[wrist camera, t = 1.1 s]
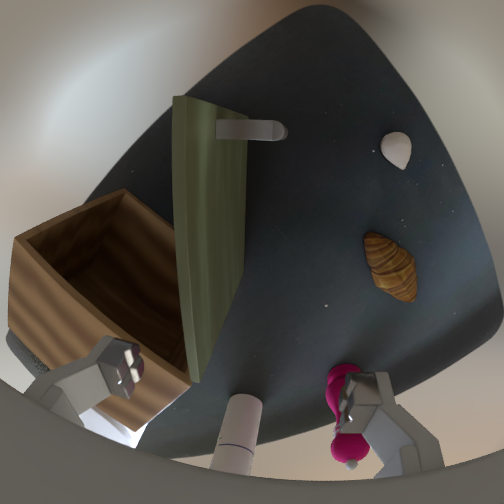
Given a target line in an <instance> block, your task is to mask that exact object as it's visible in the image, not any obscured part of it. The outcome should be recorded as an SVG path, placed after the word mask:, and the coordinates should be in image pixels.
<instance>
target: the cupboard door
mask: <svg viewBox="0 0 504 504" xmlns="http://www.w3.org/2000/svg"><path fill="white" fill-rule="evenodd" d="M287 135H288V130H287V128H286V127H285V126H284V125H282V124H281V123H280V122H278V121H275V120H248V116H245V115H242V114H240V113H237V112H234V111H232V110H229V109H226V108H223V107H220V106H217V105H215V104H212V103H209V102H206V101H203V100H199V99H196V98H193V97H190V96H187V95H183V96H174V97H173V105H172V188H173V215H174V234H175V249H176V263H177V275H178V286H179V296H180V306H181V315H182V324H183V332H184V340H185V347H186V355H187V362H188V368H189V375H190V381H192V382H197V383H200V381H201V379H202V376H203V374H204V371H205V369H206V366H207V364H208V361H209V359H210V356H211V354H212V351H213V349H214V346H215V344H216V341H217V339H218V336H219V334H220V331H221V329H222V326H223V323H224V321H225V318H226V316H227V313H228V311H229V308H230V306H231V303H232V301H233V298H234V296H235V293H236V291H237V288H238V286H239V283H240V281H241V278H242V276H243V273H244V241H245V206H246V173H247V143H248V140H268V141H277V140H282V139H285V138H286V137H287Z"/></svg>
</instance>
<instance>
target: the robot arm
mask: <svg viewBox="0 0 504 504" xmlns="http://www.w3.org/2000/svg"><path fill="white" fill-rule="evenodd" d="M140 351H141V350H140V346H139V344H137V343H134V342H130V341H127V340H123V339H120V338H115V337H112V336H109V335H105V336H103V337H102V338H101V339H100V341H99V342H98V343H97V344H96V345H95V347H94V348H93V349H92V350H91V351H90V353H89V354H88V355H87V356H86V358H85V359H84V358H80V359H78V360H75V361H73V362H71V363H68V364H66V365H63V366H61V367H58V368H56V369H54V370H51V371H49V372H46V373H44V374H41V375H39V376H38V377H37V378H36V379H35V380H34V382H33V383H32V384H31V385H30V386H29V388H28V389H27V390H26V391H25V392H24V394H22V393H20V392H19V391H17V390H16V389H14V388H13V387H11V386H10V385H8V384H7V383H6V382H4V381H3V380H1V379H0V504H504V449H502V450H499V451H496V452H494V453H491V454H488V455H485V456H482V457H479V458H476V459H473V460H469V461H466V462H462V463H459V464H455V465H451V466H447V467H445V465H444V461H443V457H442V453H441V449H440V445H439V441H438V439H437V438H436V437H434V436H433V435H432V434H431V433H430V432H429V431H428V430H427V429H426V428H425V427H423V426H422V425H421V424H420V423H419V422H418V421H417V420H416V419H415V418H414V417H413V416H411V414H409V413H408V412H407V411H406V410H405V409H404V408H403V407H402V406H401V405H399V404H398V405H396V403H395V398H394V394H393V390H392V386H391V383H390V379H389V375H388V373H387V372H348V373H347V374H346V377H345V385H343V386H342V388H341V391H340V395H339V410H340V412H341V413H342V414H341V417H340V419H339V420H340V433H362V435H363V437H364V438H365V439H366V441H367V442H368V444H369V445H370V446H371V448H372V449H373V450H374V452H375V453H376V454H377V456H378V457H379V458H380V460H381V461H382V462H383V464H384V465H385V466H384V467H383V468H382V469H381V470H380V471H379V473H377V474H376V476H375V477H374V479H365V480H348V481H303V480H285V479H273V478H263V477H254V476H247V475H240V474H234V473H228V472H222V471H217V470H212V469H207V468H202V467H197V466H193V465H189V464H185V463H181V462H177V461H174V460H170V459H167V458H163V457H160V456H157V455H153V454H150V453H147V452H144V451H141V450H138V449H135V448H133V447H130V446H127V445H124V444H122V443H119V442H116V441H114V440H111V439H109V438H107V437H104V436H102V435H99V434H97V433H95V432H93V431H90V430H88V429H86V428H84V423H83V422H82V420H81V419H80V417H79V415H80V414H82V413H83V412H85V411H87V410H88V409H90V408H91V407H93V406H95V405H96V404H98V403H99V402H101V401H103V400H104V399H106V398H107V397H109V396H110V395H111V394H113V395H116V396H119V397H122V398H125V399H129V398H130V396H131V395H132V393H133V391H134V389H135V384H134V383H136V382H137V381H139V380H140V379H141V377H142V375H143V372H144V361H143V358H142V357H141V356H140V355H139V353H140Z"/></svg>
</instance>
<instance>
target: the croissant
mask: <svg viewBox="0 0 504 504" xmlns="http://www.w3.org/2000/svg"><path fill="white" fill-rule="evenodd" d="M364 247H365V253H366V259H367V263H368V264H369V266H370V267H371V273H372V277H373V280H374V282H375V285H376V286H377V287H379V288H380V289H382V290H383V291H385V292H388V293H390V294H391V296H392V297H395V298H397V299H400V300H402V301H404V302H409V303H410V302H412V301H414V300H415V299H416V295H417V276H416V265H415V261H414V257H413V256H412V255H411V254H410V253H408V252H407V251H406V250H405V249H403V248H401V247H398V246H397V244H396V243H395V242H394V241H392V240H390V239H387V238H385V237H383V236H381V235H379V234H376V233H374V232H372V231H370V232H368V233H366V235H365V236H364Z"/></svg>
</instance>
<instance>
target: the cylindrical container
mask: <svg viewBox="0 0 504 504" xmlns="http://www.w3.org/2000/svg"><path fill="white" fill-rule="evenodd" d="M262 406H263V405H262V402H261V401H260V400H259V399H258V398H256V397H254V396H252V395H248V394H236V395H233V396H232V397H231V398H230V399H229V402H228V406H227V409H226V413H225V416H224V420H223V423H222V427H221V430H220V434H219V437H218V441H217V444H216V448H215V451H214V454H213V458H212V461H211V465H210V468H209V469H212V470H217V471H222V472H228V473H234V474H240V475H247V476H250V472H251V467H252V462H253V457H254V451H255V446H256V441H257V435H258V430H259V424H260V418H261V412H262Z"/></svg>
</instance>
